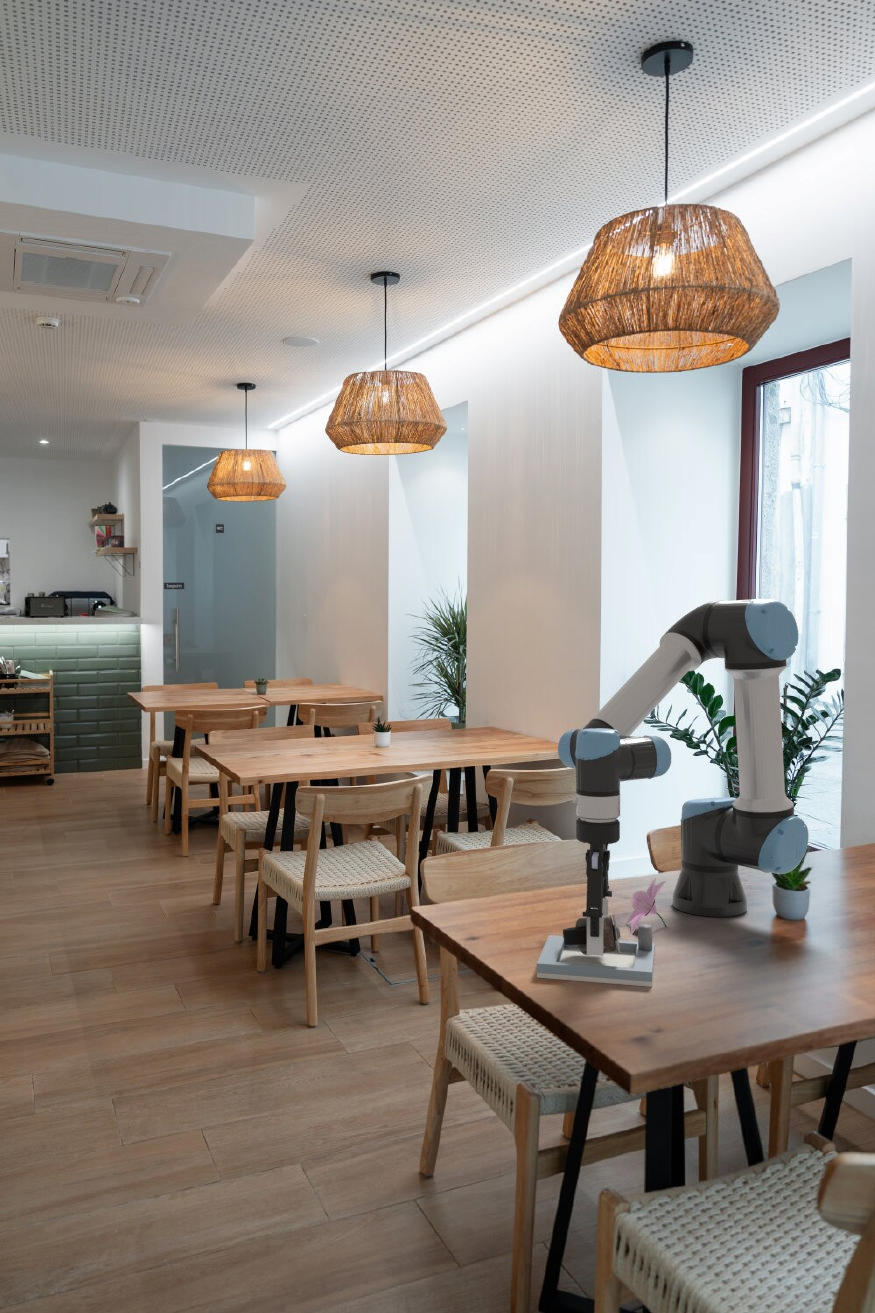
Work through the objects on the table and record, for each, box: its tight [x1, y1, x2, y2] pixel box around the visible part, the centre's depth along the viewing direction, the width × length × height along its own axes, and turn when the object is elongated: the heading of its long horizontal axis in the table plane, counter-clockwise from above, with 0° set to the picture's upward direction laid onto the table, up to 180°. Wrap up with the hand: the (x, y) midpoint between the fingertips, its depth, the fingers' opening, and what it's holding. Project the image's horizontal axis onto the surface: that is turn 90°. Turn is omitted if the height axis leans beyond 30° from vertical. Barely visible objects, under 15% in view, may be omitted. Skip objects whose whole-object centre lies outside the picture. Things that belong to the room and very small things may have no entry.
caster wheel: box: [562, 912, 621, 955], centre depth 172 cm, size 7×11×10 cm
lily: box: [625, 877, 668, 935], centre depth 194 cm, size 12×12×10 cm
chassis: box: [536, 924, 656, 988], centre depth 172 cm, size 19×16×6 cm
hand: (597, 944), depth 172 cm, fingers closed on caster wheel, 11 cm apart
